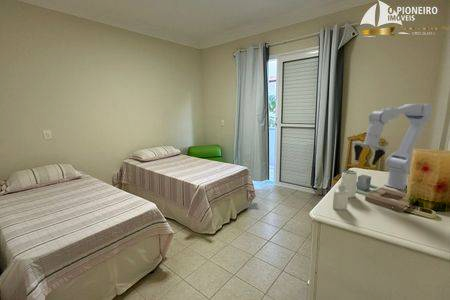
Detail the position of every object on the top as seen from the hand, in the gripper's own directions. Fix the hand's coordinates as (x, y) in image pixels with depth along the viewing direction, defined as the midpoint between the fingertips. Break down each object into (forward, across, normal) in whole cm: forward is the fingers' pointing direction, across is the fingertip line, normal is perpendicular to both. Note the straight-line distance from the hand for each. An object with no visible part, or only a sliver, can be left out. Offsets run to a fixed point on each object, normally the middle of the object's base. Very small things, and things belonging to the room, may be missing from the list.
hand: (364, 162), depth 102 cm
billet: (+14, 0, +8) cm, 16 cm away
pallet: (+14, +13, +4) cm, 20 cm away
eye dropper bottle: (+21, +4, -21) cm, 30 cm away
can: (+18, -1, -5) cm, 18 cm away
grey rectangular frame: (+14, 0, +8) cm, 16 cm away
